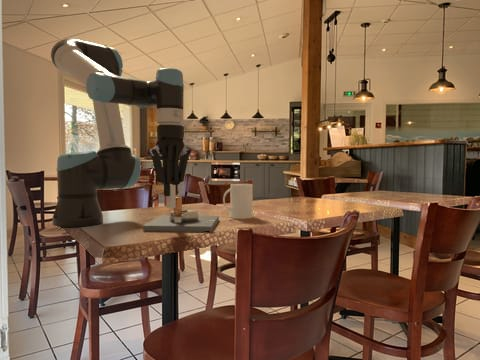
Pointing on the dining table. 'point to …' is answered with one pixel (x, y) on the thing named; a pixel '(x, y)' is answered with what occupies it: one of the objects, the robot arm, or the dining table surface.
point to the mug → (240, 201)
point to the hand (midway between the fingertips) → (170, 207)
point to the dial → (182, 213)
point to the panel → (181, 224)
